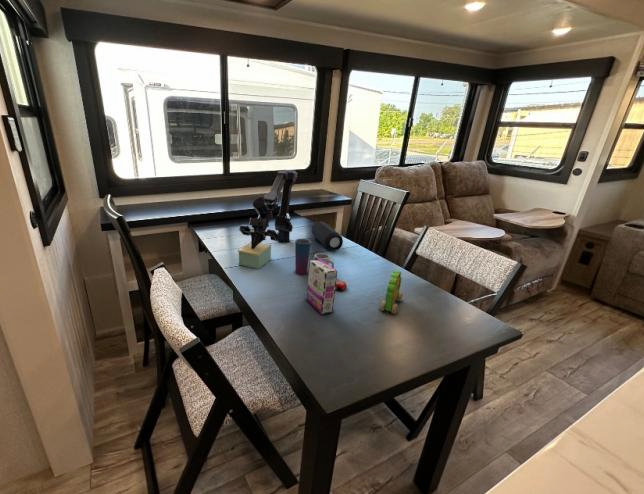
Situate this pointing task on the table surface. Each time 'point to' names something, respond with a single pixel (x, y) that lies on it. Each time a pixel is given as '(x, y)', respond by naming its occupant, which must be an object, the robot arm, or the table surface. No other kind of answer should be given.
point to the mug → (324, 258)
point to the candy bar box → (321, 286)
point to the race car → (340, 285)
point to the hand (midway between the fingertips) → (252, 248)
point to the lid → (256, 251)
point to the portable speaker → (327, 236)
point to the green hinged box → (255, 259)
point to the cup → (302, 255)
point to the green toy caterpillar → (393, 293)
